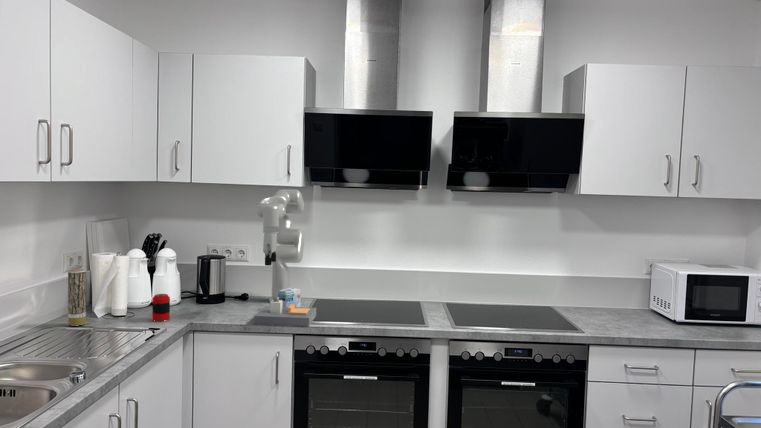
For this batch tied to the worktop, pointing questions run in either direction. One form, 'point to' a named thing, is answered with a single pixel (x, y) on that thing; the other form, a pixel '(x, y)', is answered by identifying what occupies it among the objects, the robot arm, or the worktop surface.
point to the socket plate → (284, 317)
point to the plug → (276, 305)
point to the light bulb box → (290, 297)
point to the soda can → (161, 307)
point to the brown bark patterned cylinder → (76, 297)
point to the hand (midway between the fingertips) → (270, 263)
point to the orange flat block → (297, 310)
